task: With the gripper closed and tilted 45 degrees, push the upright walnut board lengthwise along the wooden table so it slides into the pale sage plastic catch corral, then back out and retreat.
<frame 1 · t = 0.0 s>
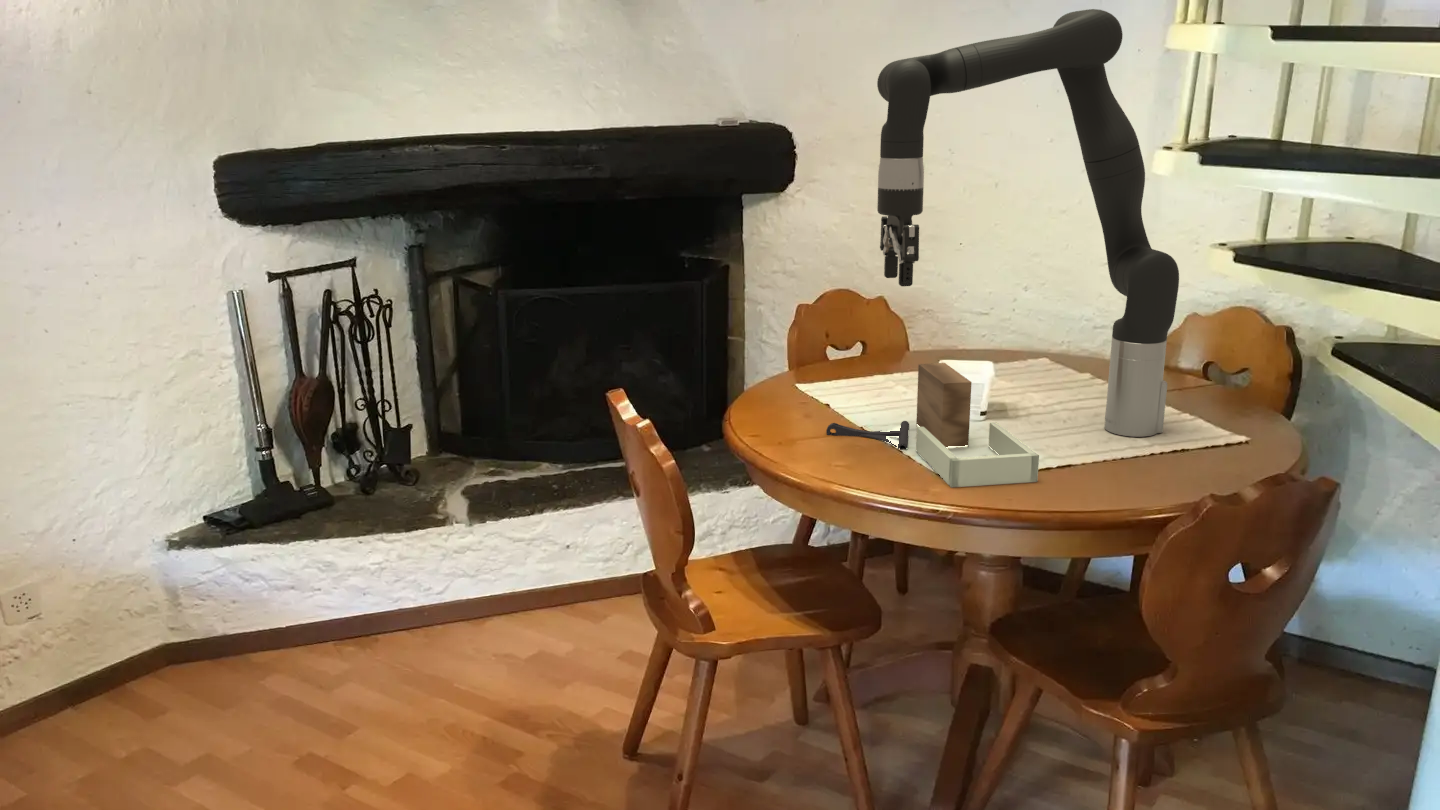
hand: (897, 281, 190), 29 cm above the table, tool pointing down, fingers open, 8 cm apart
walnut board: (941, 436, 202), on the table
catch corral: (972, 464, 187), on the table
dark grey t-shaped piece: (867, 440, 204), on the table
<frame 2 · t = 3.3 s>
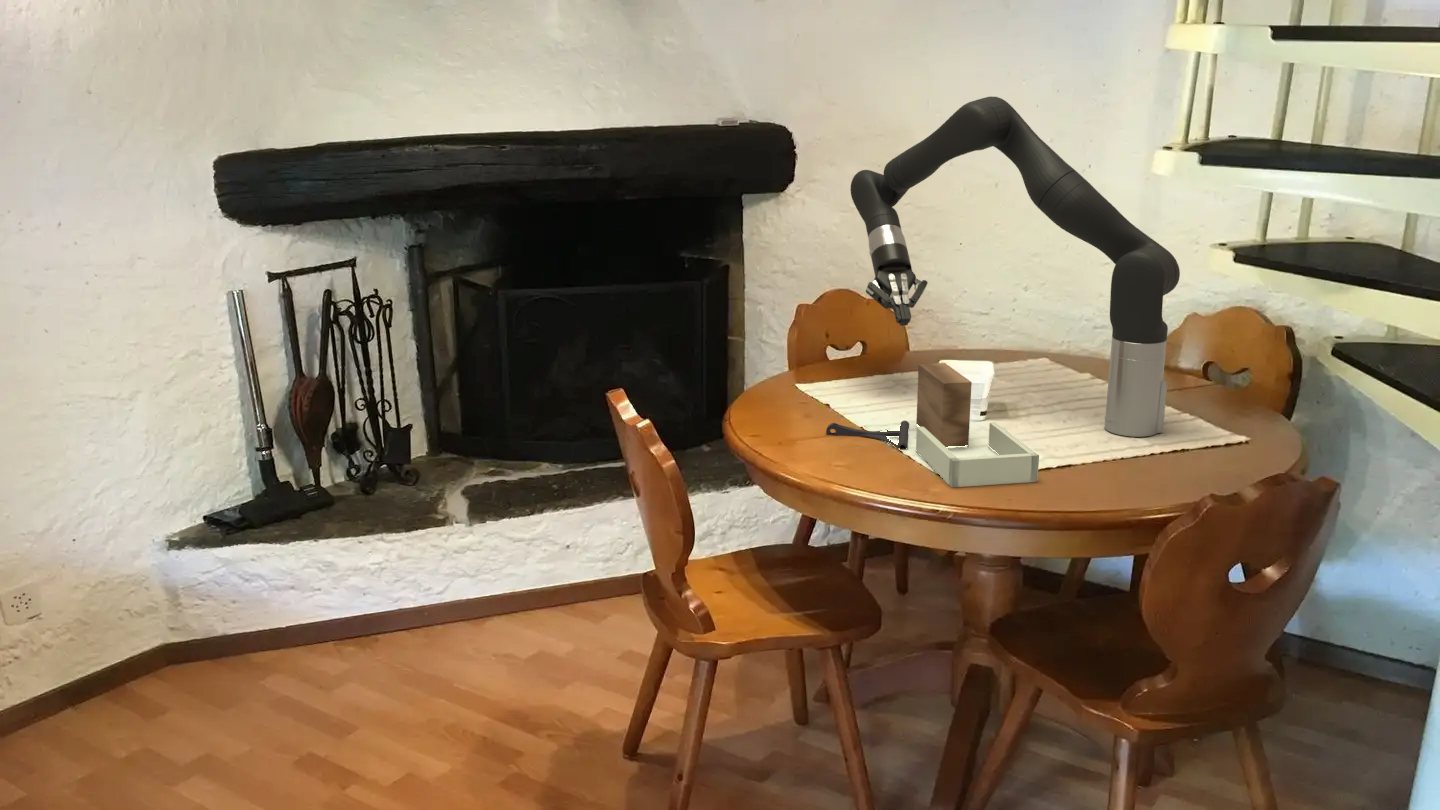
hand: (904, 323, 220), 16 cm above the table, tool tilted 45°, fingers closed
nothing on the table moved.
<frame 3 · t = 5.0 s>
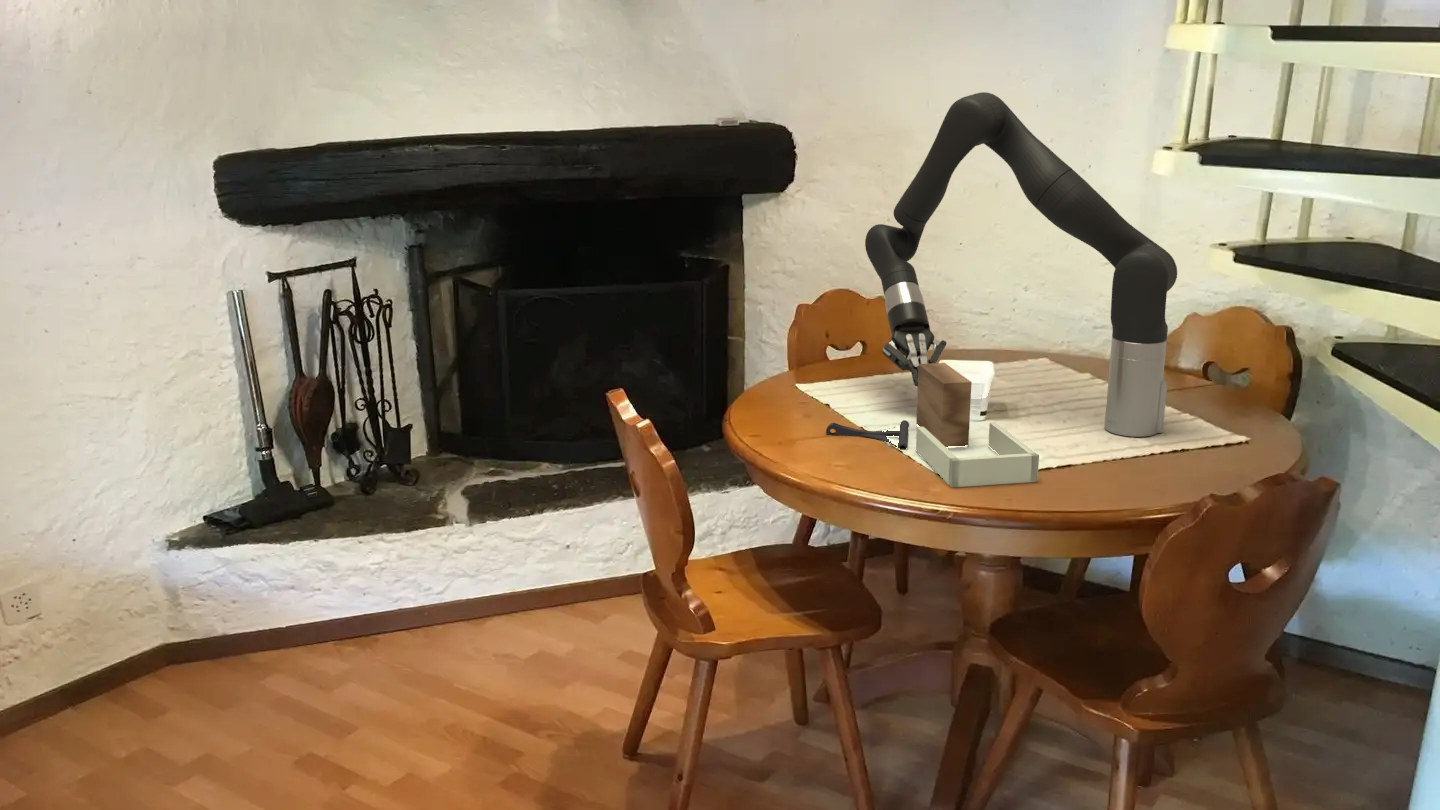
hand: (923, 386, 211), 6 cm above the table, tool tilted 45°, fingers closed
nothing on the table moved.
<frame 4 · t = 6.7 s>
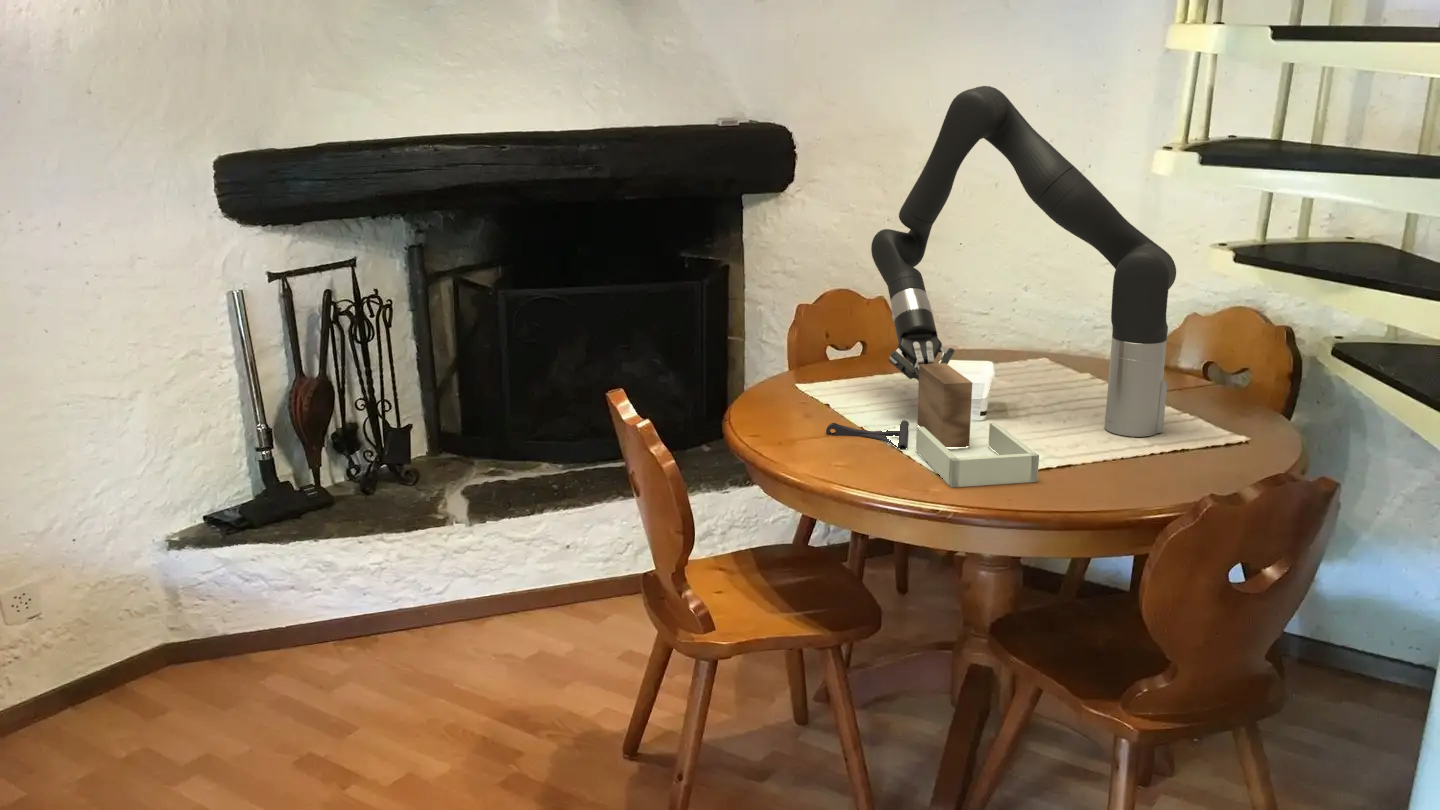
hand: (930, 395, 207), 6 cm above the table, tool tilted 45°, fingers closed
walnut board: (942, 437, 202), on the table, touching gripper
everything else where it was.
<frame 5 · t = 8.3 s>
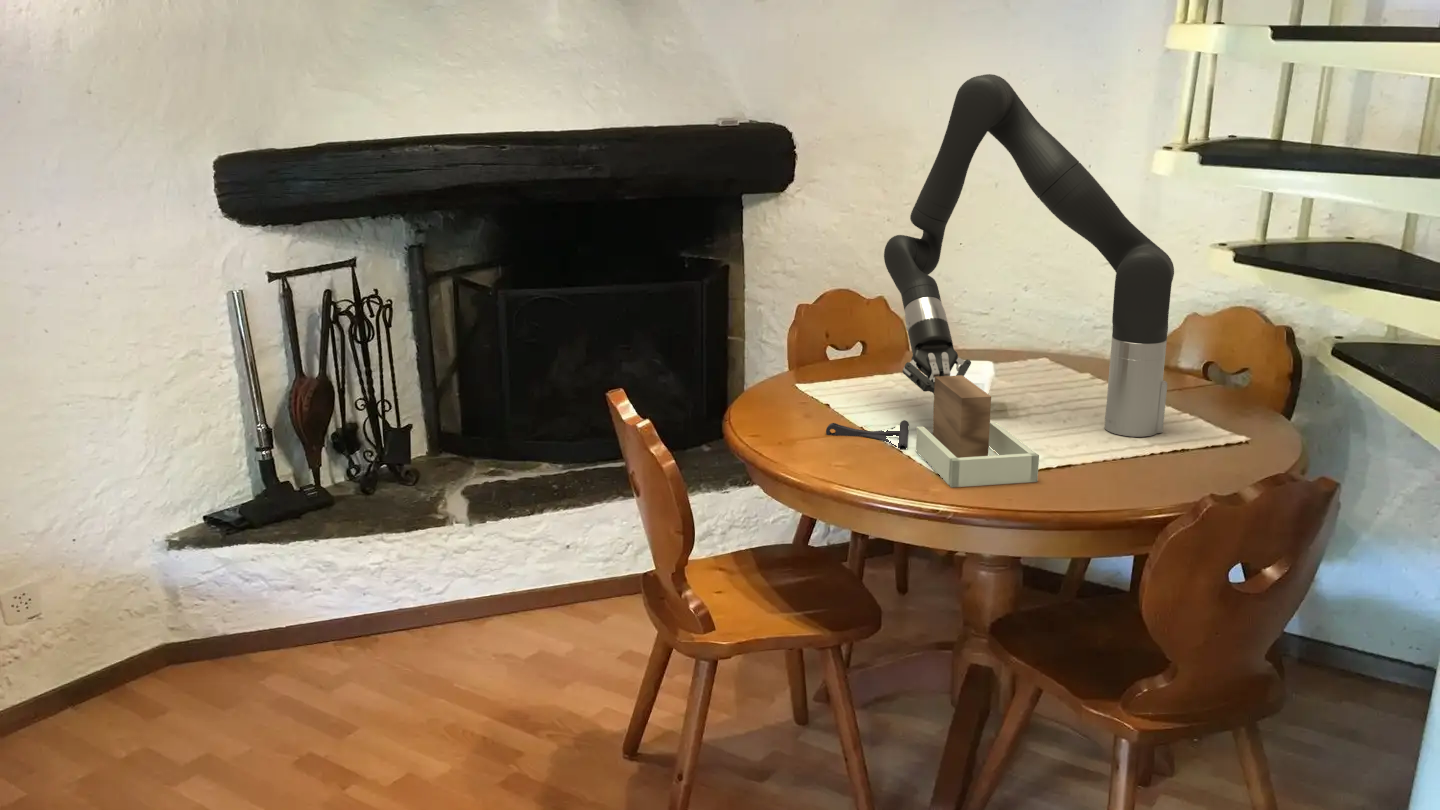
hand: (946, 409, 199), 6 cm above the table, tool tilted 45°, fingers closed
walnut board: (959, 452, 193), on the table, touching gripper
everything else where it was.
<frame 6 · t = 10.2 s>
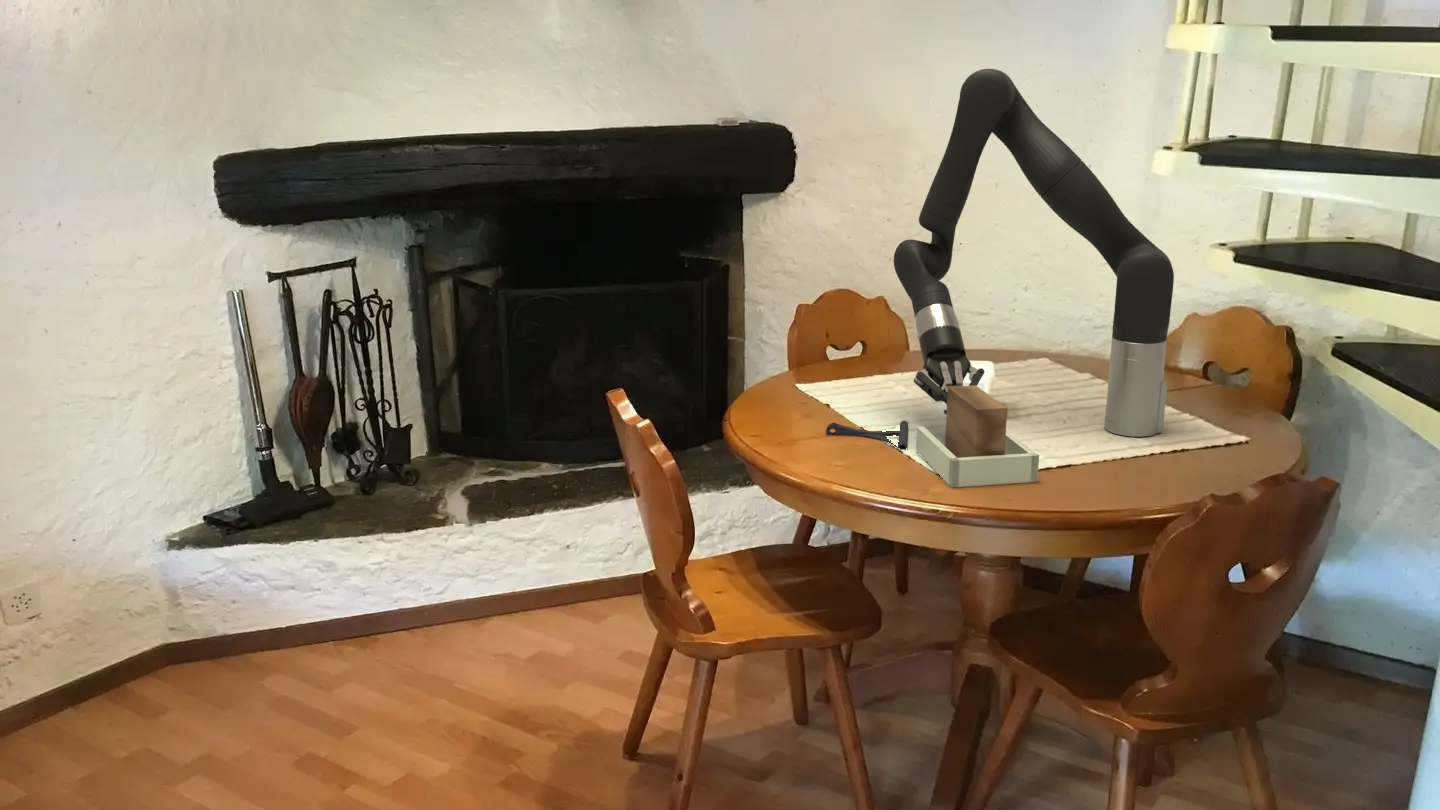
hand: (959, 419, 192), 6 cm above the table, tool tilted 45°, fingers closed
walnut board: (972, 465, 186), on the table, touching gripper
everything else where it was.
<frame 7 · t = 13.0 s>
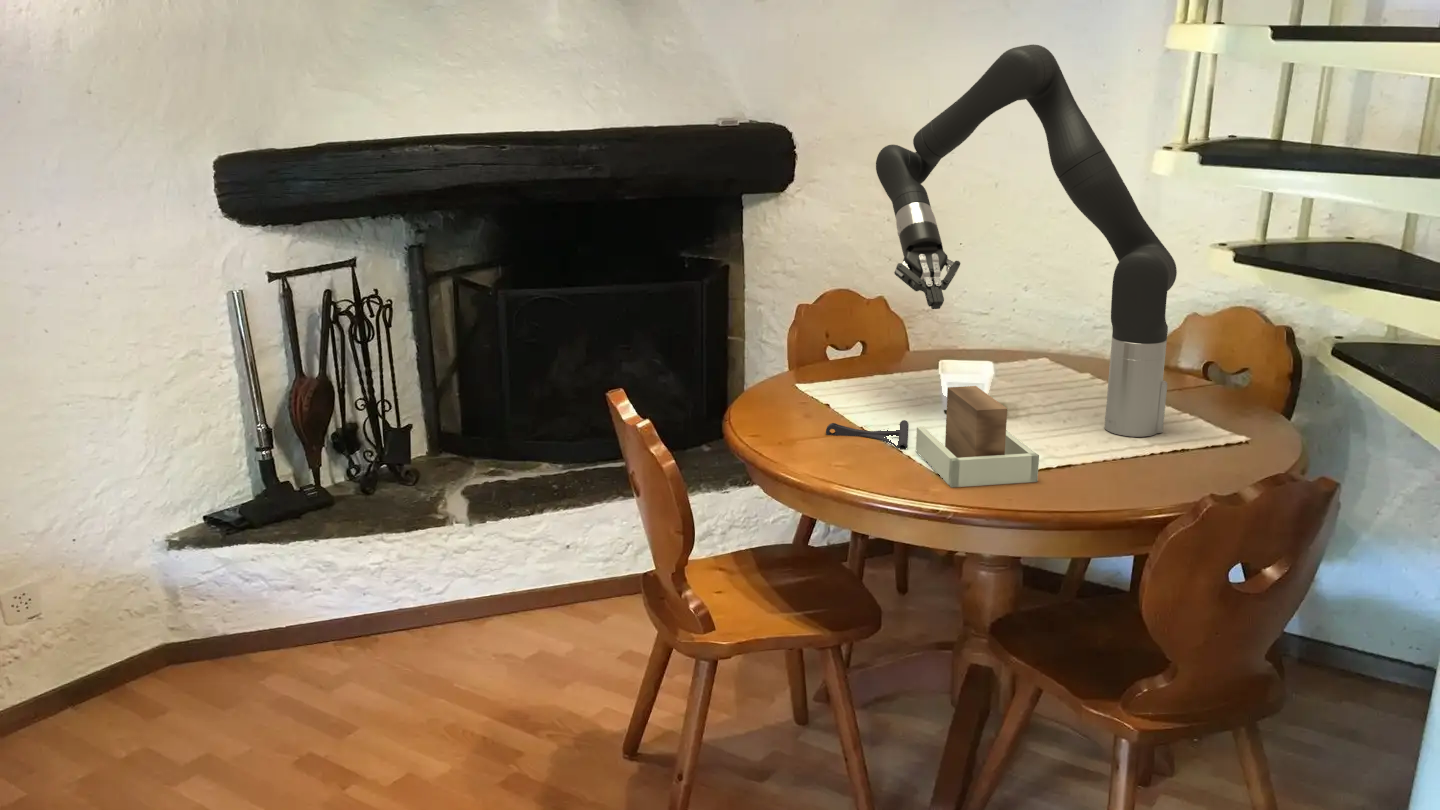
hand: (937, 306, 206), 22 cm above the table, tool tilted 45°, fingers closed
walnut board: (972, 466, 186), on the table
everything else where it was.
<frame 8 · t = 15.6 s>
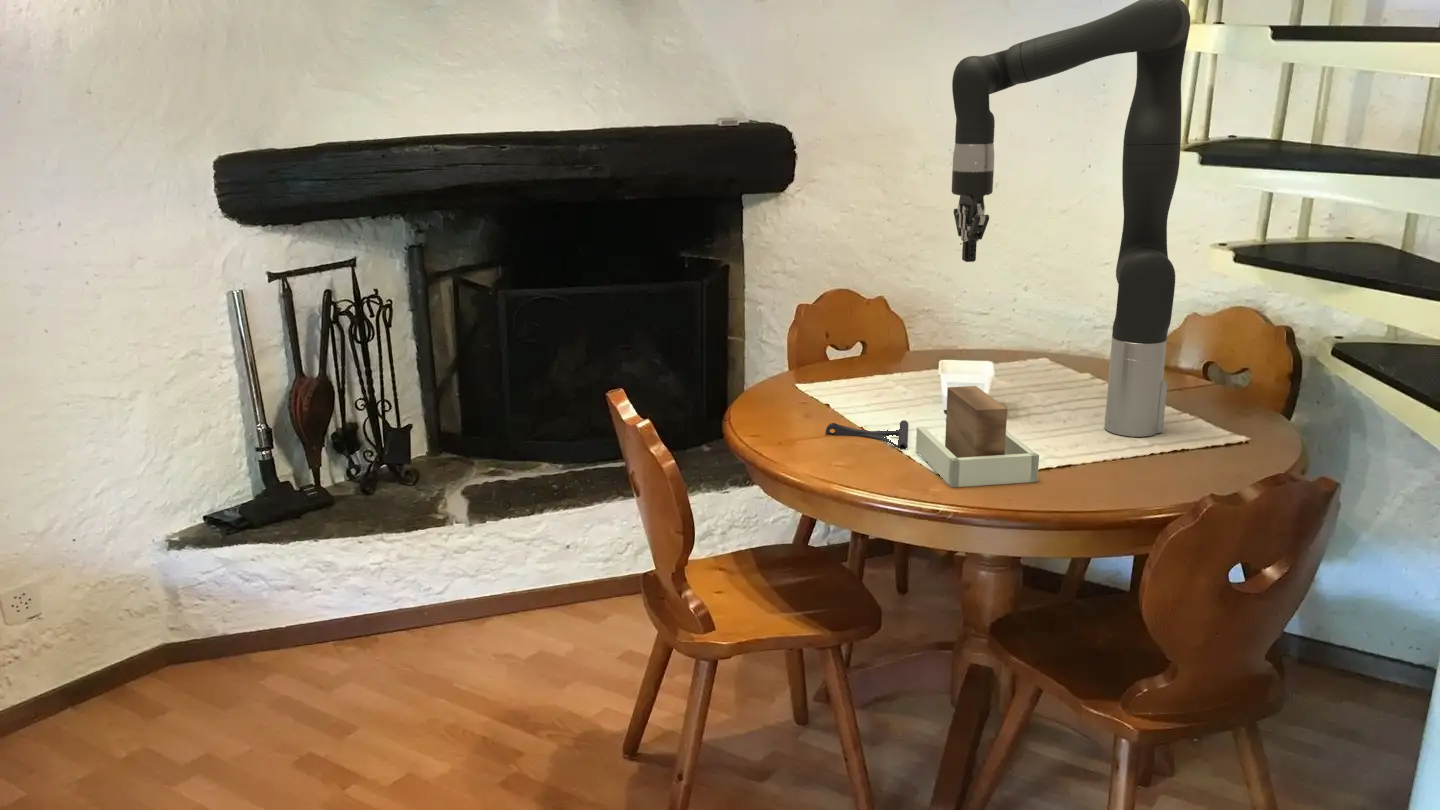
hand: (968, 261, 212), 29 cm above the table, tool pointing down, fingers closed
nothing on the table moved.
at the end: walnut board inside the target area (0.5 cm from its centre), on the table; walnut board tilted 0°; walnut board moved 16.5 cm from its start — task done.
